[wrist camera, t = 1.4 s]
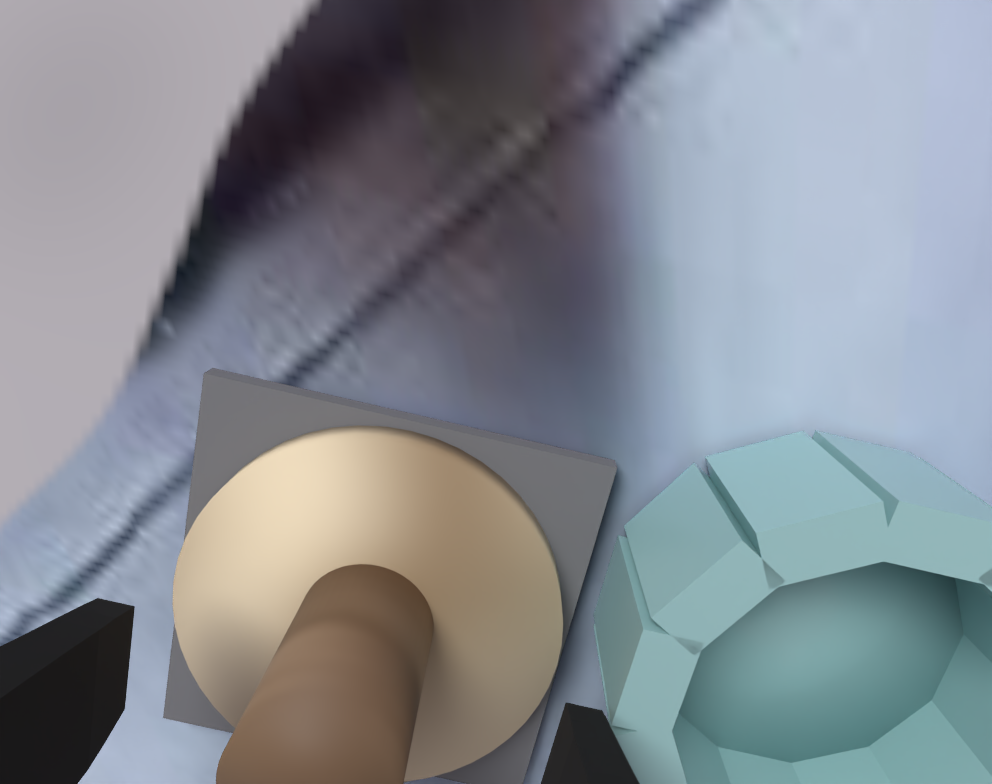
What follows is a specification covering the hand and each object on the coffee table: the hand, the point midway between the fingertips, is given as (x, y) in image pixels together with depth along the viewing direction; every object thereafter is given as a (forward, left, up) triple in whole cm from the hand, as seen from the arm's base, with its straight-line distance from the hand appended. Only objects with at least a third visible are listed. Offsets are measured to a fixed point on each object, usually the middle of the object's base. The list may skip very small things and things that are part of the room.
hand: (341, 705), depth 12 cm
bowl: (+8, +1, -4) cm, 9 cm away
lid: (0, 0, -3) cm, 3 cm away
